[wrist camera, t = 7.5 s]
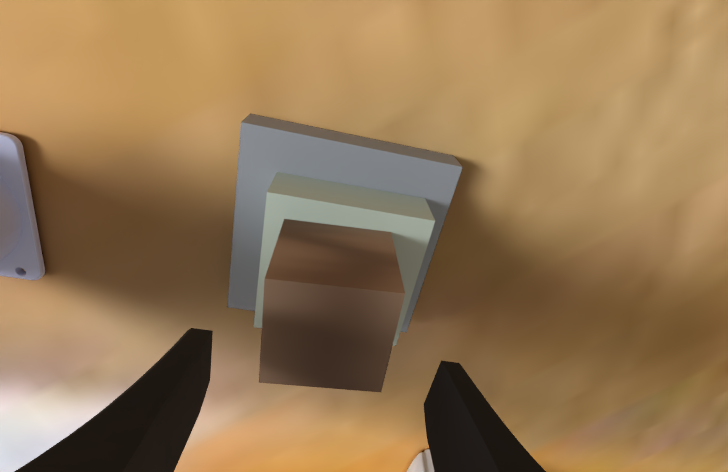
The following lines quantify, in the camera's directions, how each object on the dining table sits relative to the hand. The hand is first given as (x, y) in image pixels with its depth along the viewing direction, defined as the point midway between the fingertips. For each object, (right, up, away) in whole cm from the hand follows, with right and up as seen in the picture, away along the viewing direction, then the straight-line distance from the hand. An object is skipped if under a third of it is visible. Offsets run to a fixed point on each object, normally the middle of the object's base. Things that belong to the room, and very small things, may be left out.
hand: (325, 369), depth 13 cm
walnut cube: (0, +3, +5) cm, 6 cm away
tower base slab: (0, +5, +10) cm, 11 cm away
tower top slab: (0, +3, +8) cm, 8 cm away
